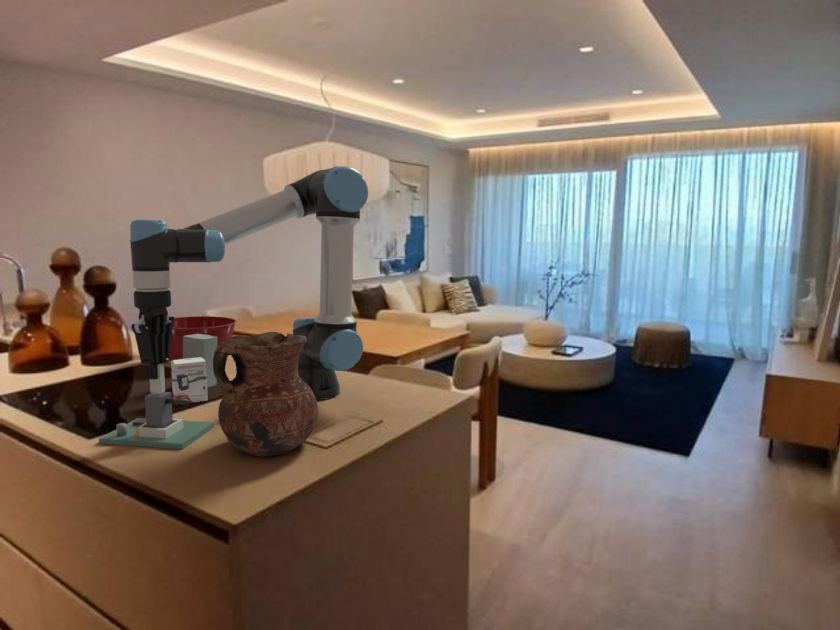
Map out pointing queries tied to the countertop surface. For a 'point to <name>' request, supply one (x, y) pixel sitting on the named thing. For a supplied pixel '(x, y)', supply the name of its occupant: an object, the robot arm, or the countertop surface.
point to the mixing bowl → (199, 331)
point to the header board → (157, 434)
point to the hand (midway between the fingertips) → (157, 391)
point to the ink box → (189, 379)
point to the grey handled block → (160, 409)
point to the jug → (264, 394)
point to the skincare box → (201, 352)
